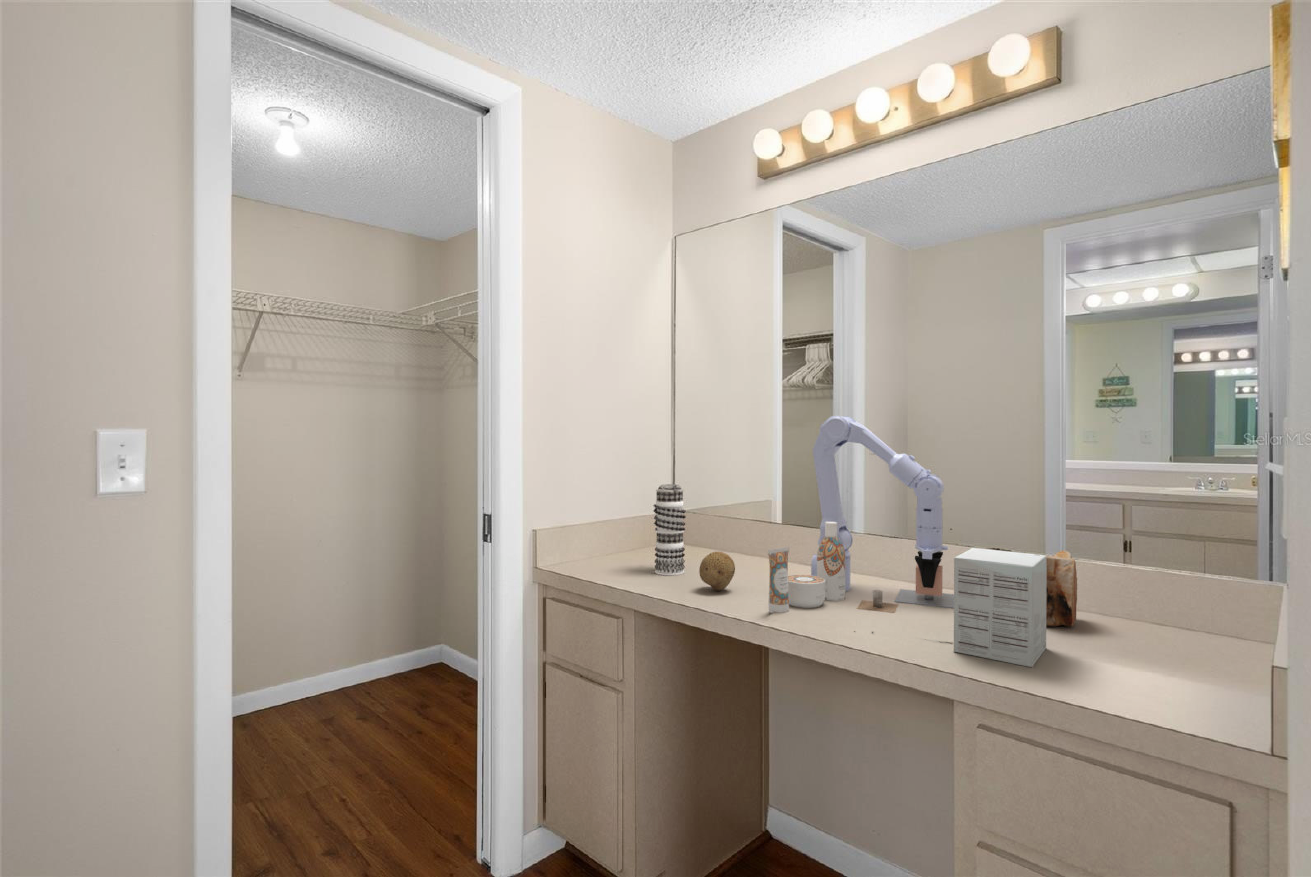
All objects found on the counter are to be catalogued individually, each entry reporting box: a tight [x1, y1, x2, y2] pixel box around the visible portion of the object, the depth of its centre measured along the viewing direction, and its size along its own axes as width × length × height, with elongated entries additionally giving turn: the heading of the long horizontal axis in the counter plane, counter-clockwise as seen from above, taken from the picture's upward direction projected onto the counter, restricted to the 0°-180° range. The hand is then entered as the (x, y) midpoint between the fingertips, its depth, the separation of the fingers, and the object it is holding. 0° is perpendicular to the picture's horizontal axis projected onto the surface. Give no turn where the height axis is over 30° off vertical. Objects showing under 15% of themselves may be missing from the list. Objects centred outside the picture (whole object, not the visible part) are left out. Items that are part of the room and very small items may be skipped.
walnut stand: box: [856, 589, 899, 614], centre depth 150 cm, size 8×8×4 cm
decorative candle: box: [653, 483, 687, 576], centre depth 190 cm, size 9×9×25 cm
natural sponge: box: [698, 551, 736, 592], centre depth 168 cm, size 9×9×10 cm
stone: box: [1045, 550, 1078, 628], centre depth 139 cm, size 14×9×15 cm, turn 127°
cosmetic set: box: [767, 522, 846, 614], centre depth 153 cm, size 25×9×19 cm, turn 128°
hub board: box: [894, 588, 954, 610], centre depth 157 cm, size 14×13×6 cm
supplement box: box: [953, 547, 1047, 668], centre depth 123 cm, size 13×13×18 cm
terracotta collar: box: [915, 563, 944, 596], centre depth 157 cm, size 6×6×6 cm
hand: (929, 584), depth 157 cm, fingers open, 6 cm apart
